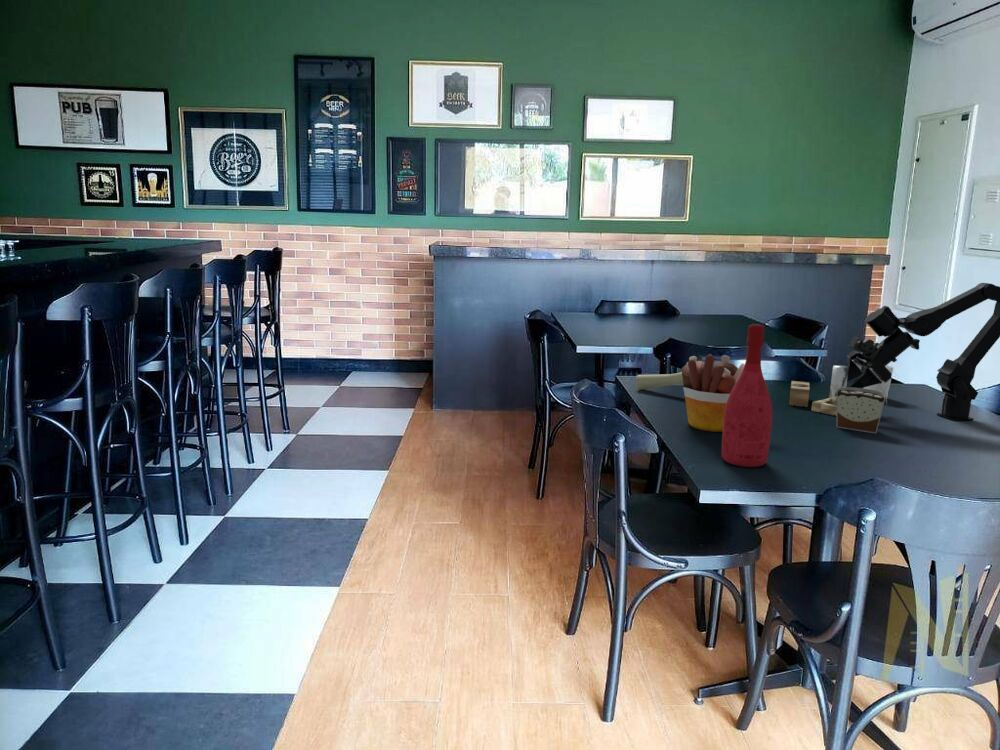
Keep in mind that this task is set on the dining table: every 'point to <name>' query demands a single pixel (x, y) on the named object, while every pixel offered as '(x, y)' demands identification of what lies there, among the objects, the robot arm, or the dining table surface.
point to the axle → (837, 381)
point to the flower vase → (658, 380)
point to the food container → (859, 409)
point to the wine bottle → (748, 410)
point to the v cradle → (824, 407)
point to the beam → (799, 393)
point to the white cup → (882, 384)
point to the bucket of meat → (708, 390)
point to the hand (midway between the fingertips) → (844, 386)
